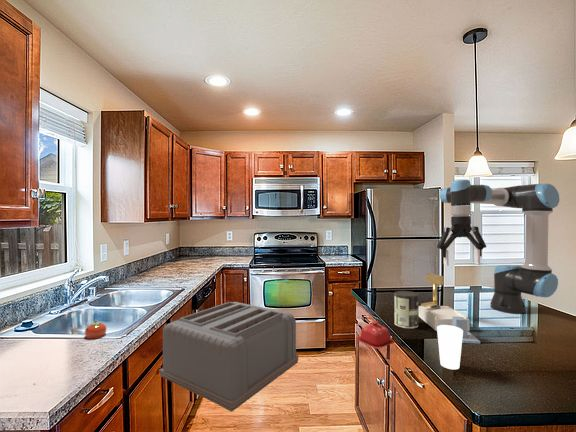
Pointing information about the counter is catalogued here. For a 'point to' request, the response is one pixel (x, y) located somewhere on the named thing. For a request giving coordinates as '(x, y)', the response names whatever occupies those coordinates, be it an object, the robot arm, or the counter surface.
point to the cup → (450, 345)
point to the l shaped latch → (436, 281)
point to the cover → (464, 330)
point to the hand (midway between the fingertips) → (461, 264)
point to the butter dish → (375, 336)
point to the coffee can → (406, 309)
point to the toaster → (229, 351)
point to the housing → (440, 316)
